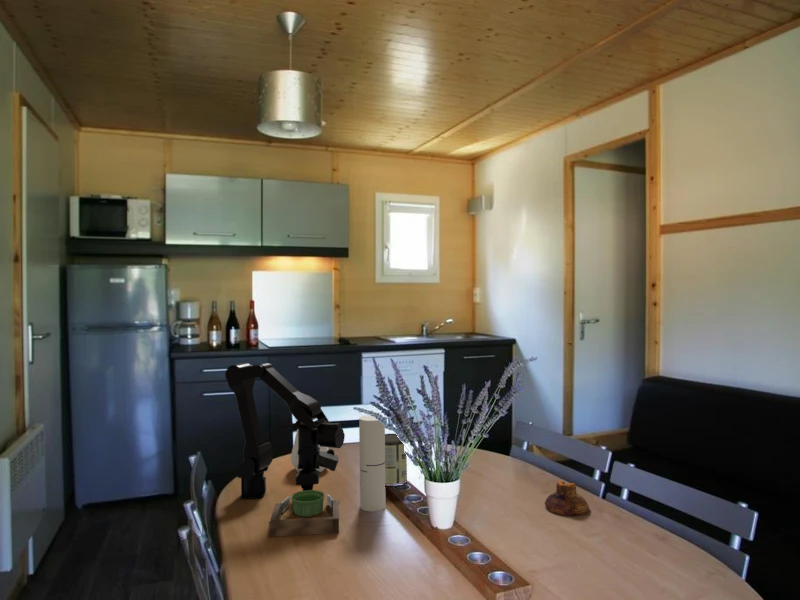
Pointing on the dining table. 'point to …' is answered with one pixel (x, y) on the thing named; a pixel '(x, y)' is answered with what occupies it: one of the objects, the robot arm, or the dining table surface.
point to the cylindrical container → (372, 464)
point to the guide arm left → (285, 504)
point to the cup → (295, 454)
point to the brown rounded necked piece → (566, 501)
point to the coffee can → (395, 460)
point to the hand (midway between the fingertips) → (309, 499)
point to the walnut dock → (303, 523)
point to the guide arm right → (330, 501)
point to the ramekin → (307, 502)
